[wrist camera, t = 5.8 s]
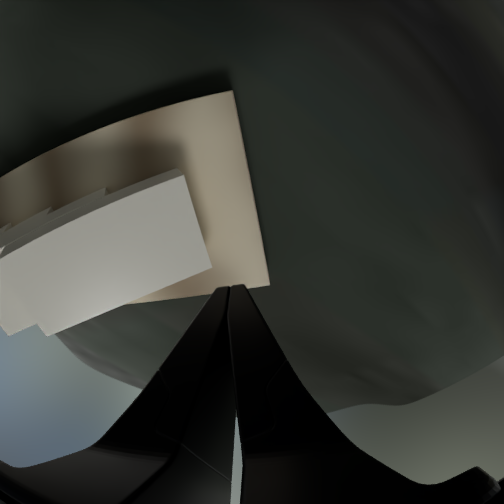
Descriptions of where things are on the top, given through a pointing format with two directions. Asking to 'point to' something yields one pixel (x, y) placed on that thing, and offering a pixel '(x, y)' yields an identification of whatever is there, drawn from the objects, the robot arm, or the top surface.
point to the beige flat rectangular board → (154, 163)
